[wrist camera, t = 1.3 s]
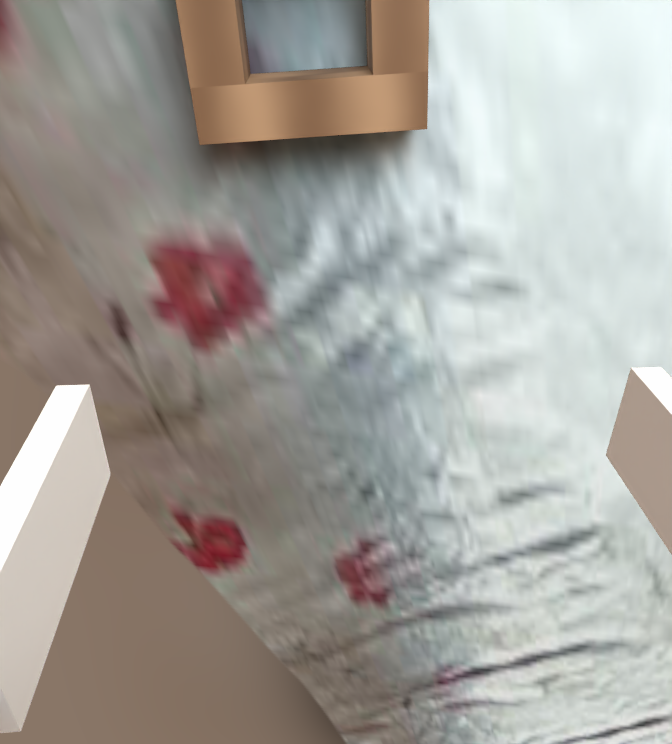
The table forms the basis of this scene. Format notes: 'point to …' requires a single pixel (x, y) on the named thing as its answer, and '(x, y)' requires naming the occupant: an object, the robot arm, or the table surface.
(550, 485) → the table surface
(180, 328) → the table surface
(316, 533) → the table surface
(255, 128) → the socket
